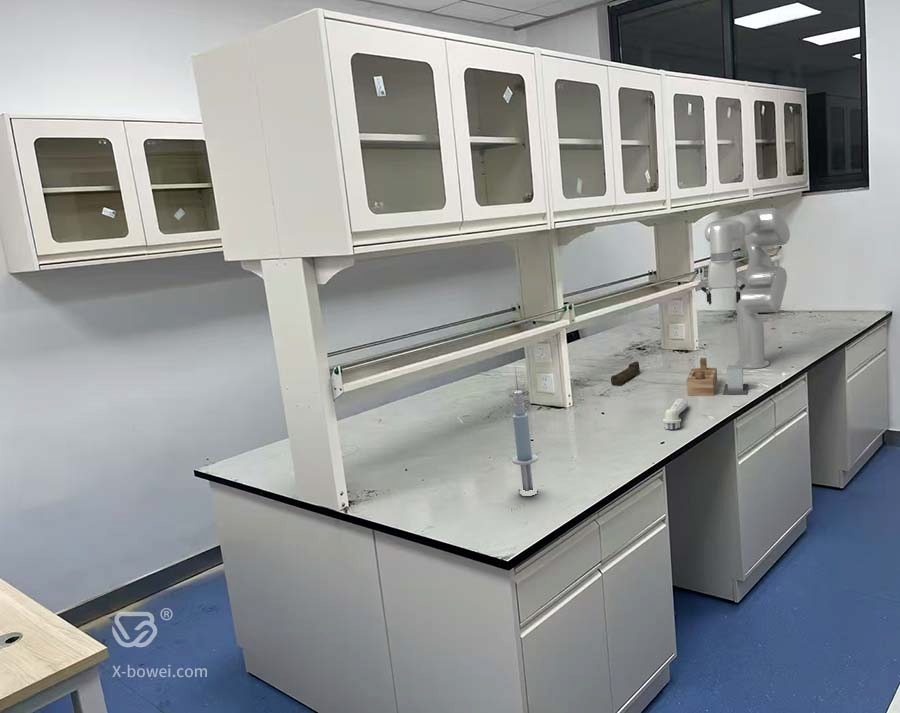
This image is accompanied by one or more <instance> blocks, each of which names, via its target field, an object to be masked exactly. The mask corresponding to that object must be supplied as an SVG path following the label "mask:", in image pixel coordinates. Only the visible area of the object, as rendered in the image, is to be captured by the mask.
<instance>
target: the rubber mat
mask: <svg viewBox="0 0 900 713" xmlns="http://www.w3.org/2000/svg"><path fill="white" fill-rule="evenodd" d="M743 385H744V386H743V391H728V383H725V384H724V386H723V391H722V396H736V395H737V396H744V395H745V396H747V395H748V389H749V382H747V383H743Z"/></svg>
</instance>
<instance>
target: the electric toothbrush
mask: <svg viewBox="0 0 900 713" xmlns="http://www.w3.org/2000/svg"><path fill="white" fill-rule="evenodd" d="M688 404H689V403H688V400H687V399H686V398H684V397H679V398H676V399H675V400H674V401H673V403H672V406H671V407H670V408H668V409H666V410H665V417H664V418H663V419H662V422H663V424H664V429H666V430H677V429H680V428H681V422H682V419H681V418H680V417H679V415H680V414H681V413H682V412H684V411H685V410H687V408H688Z"/></svg>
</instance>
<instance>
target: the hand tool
mask: <svg viewBox="0 0 900 713" xmlns="http://www.w3.org/2000/svg"><path fill="white" fill-rule="evenodd" d="M640 372H641V369H640V362H639V361H633V362H631V363H629V364H628V367H627V368H625V369H623V370H622V371H620V372H619V373H616V374H614V375H611V376H610V383H611V385H612V386H616V387H620V386H622V385H624V382H626V381H627V380H629V379H631V378H633V377H638V376H639V374H640Z"/></svg>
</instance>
